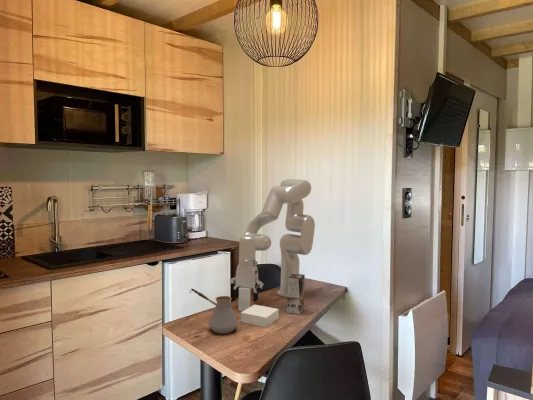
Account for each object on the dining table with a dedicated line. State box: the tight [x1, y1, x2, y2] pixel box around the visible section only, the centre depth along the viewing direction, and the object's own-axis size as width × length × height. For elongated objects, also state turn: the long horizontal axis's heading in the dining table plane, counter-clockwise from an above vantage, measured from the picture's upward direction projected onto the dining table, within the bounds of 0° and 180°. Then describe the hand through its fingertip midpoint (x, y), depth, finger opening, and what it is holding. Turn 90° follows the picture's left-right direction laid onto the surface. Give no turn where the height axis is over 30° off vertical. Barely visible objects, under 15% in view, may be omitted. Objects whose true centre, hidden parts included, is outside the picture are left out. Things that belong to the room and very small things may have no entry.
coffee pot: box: [189, 288, 239, 335], centre depth 160 cm, size 21×12×15 cm, turn 67°
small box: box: [238, 287, 255, 312], centre depth 185 cm, size 8×6×10 cm
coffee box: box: [286, 273, 306, 315], centre depth 183 cm, size 9×6×16 cm
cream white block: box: [240, 304, 280, 328], centre depth 171 cm, size 12×12×4 cm
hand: (246, 299), depth 184 cm, fingers open, 9 cm apart
